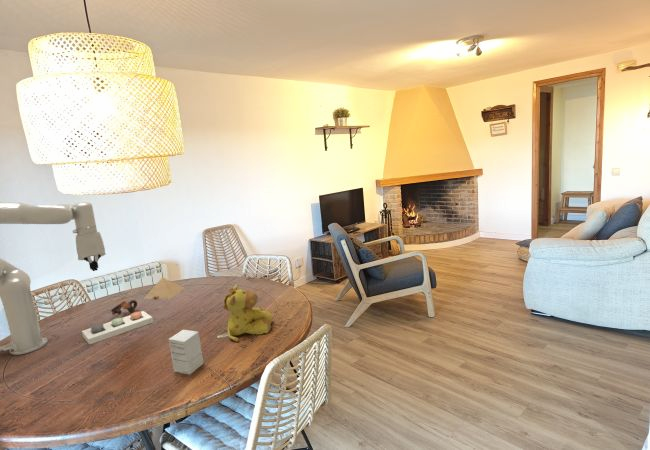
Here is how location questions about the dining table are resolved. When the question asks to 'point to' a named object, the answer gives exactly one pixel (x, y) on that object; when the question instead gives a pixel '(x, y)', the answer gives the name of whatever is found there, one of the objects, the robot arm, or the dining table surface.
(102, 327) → the button charcoal
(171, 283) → the model pyramid
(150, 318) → the panel
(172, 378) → the dining table surface
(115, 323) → the button sage
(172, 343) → the supplement box
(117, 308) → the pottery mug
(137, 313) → the button terracotta
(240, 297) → the giraffe plush
